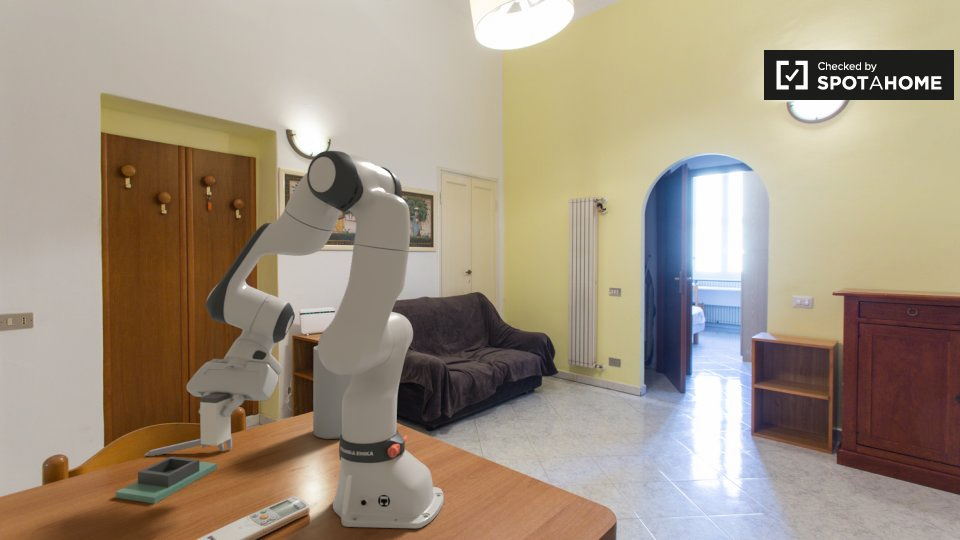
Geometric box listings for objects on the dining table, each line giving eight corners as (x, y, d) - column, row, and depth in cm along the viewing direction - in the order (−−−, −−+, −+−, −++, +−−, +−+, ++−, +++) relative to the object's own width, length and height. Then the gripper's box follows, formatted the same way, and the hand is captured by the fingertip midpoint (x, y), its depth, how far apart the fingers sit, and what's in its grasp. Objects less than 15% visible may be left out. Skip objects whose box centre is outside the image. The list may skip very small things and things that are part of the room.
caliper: (232, 450, 118) (232, 426, 118) (230, 451, 117) (230, 428, 117) (145, 455, 114) (145, 431, 114) (143, 457, 113) (143, 433, 113)
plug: (230, 438, 99) (230, 393, 99) (216, 445, 95) (215, 398, 95) (215, 437, 100) (215, 392, 100) (200, 444, 96) (200, 397, 96)
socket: (216, 468, 107) (216, 453, 107) (154, 503, 91) (154, 485, 91) (182, 464, 109) (182, 449, 109) (115, 497, 93) (115, 479, 93)
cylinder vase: (314, 426, 135) (314, 343, 135) (357, 422, 139) (357, 342, 138) (311, 442, 123) (312, 351, 123) (358, 437, 127) (359, 349, 126)
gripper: (201, 351, 106) (164, 404, 97) (276, 354, 102) (245, 411, 92) (216, 365, 111) (182, 418, 101) (289, 369, 106) (261, 425, 97)
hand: (213, 415), depth 97 cm, fingers closed on plug, 4 cm apart
